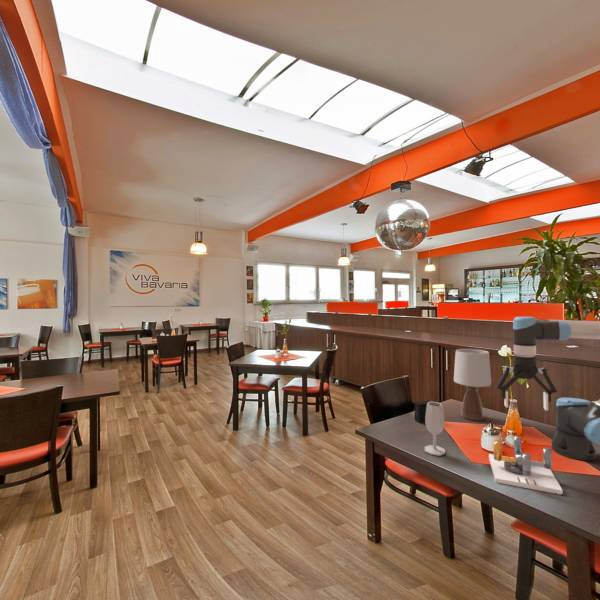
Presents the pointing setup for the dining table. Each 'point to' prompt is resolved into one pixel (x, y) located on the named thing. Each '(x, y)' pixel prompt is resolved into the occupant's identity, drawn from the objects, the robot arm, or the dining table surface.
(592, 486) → the dining table surface
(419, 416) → the electronic device
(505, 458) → the silver metal piece
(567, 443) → the robot arm
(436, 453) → the wineglass
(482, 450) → the dining table surface
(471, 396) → the lamp
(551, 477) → the stand plate
